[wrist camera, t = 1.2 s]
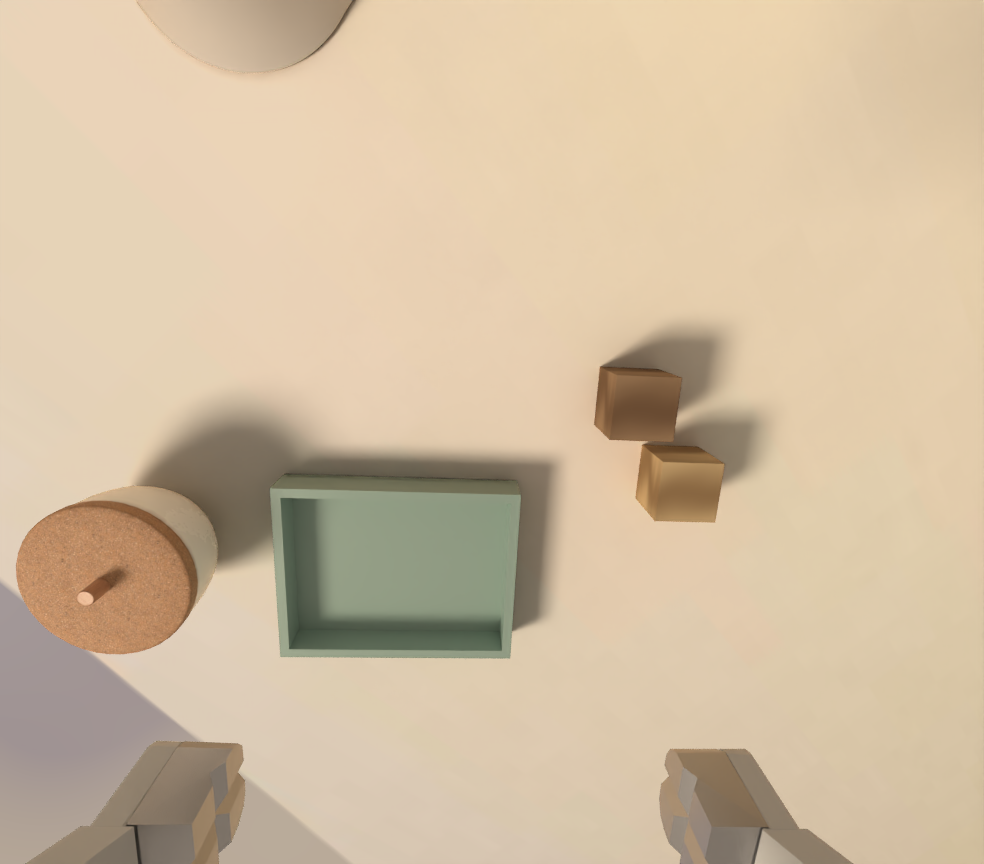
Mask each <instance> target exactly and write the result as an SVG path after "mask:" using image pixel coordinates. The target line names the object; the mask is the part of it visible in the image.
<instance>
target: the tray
mask: <svg viewBox="0 0 984 864" xmlns="http://www.w3.org/2000/svg"><path fill="white" fill-rule="evenodd" d="M270 501H271V517H272V533H273V548H274V564H275V580H276V595H277V611H278V627H279V642H280V657H362V658H510V653H511V638H512V623H513V608H514V593H515V578H516V563H517V548H518V533H519V518H520V503H521V493H520V490H519V486H518V483H517V480H482V479H446V478H411V477H375V476H340V475H305V474H284V475H283V476H282V477H281V478H280V479H279V480H278V481H277V482H276V483H275V484H274V485H273V486H272V487H271V488H270Z"/></svg>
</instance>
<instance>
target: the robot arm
mask: <svg viewBox="0 0 984 864" xmlns="http://www.w3.org/2000/svg"><path fill="white" fill-rule="evenodd" d="M136 1H137V3H138V4H139V6H140V7H141V9H142V10H143V11H144V13H145V14H146V15H147V17H148V18H149V19H150V20H151V22H152V23H153V24H154V25H155V26H156V27H157V28H158V29H159V31H160V32H161V33H162V34H164V35H165V36H166V37H167V38H168V39H169V40H170V41H171V42H172V43H174V44H175V45H176V46H177V47H179V48H180V49H182V50H183V51H184V52H186V53H188V54H189V55H191V56H192V57H194V58H196V59H198V60H200V61H202V62H204V63H206V64H209V65H211V66H214V67H217V68H220V69H224V70H227V71H233V72H239V73H265V72H271V71H276V70H279V69H283V68H286V67H288V66H291V65H293V64H295V63H297V62H299V61H301V60H303V59H304V58H306V57H307V56H309V55H310V54H311V53H313V52H314V51H315V50H317V49H318V48H319V47H320V46H321V45H322V44H323V43H324V42H325V41H326V40H327V39H328V37H329V36H330V35H331V34H332V32H333V31H334V30H335V28H336V27H337V25H338V24H339V22H340V20H341V19H342V17H343V15H344V13H345V12H346V10H347V8H348V7H349V5H350V3H351V2H352V1H353V0H136ZM243 761H244V758H243V749H242V745H240V744H238V743H214V742H188V741H185V742H174V741H173V742H172V741H156V742H154V743H153V744H151V745H150V746H149V747H148V748H147V749H146V750H145V751H144V753H143V754H142V756H141V757H140V758H139V760H138V761H137V762H136V764H135V765H134V766H133V768H132V769H131V771H130V772H129V773H128V775H127V776H126V777H125V779H124V780H123V782H122V783H121V784H120V786H119V787H118V788H117V790H116V791H115V793H114V794H113V795H112V797H111V798H110V799H109V801H108V802H107V803H106V805H105V806H104V808H103V809H102V810H101V812H100V813H99V814H98V816H97V817H96V819H95V820H94V821H93V823H92V824H91V826H80V827H79V828H78V829H76V830H75V831H73V832H72V833H70V834H69V835H67V836H66V837H64V838H63V839H61V840H60V841H58V842H57V843H55V844H54V845H52V846H51V847H49V848H48V849H46V850H45V851H44V852H42V853H41V854H39V855H38V856H36V857H35V858H33V859H32V860H30V861H29V862H27V863H26V864H219V855H218V853H219V852H221V851H222V850H223V849H224V848H225V847H226V846H227V845H229V844H230V843H231V842H232V839H233V837H234V835H235V832H236V830H237V827H238V825H239V821H240V817H241V814H242V810H243V807H244V799H245V780H244V779H243V777H242V776H241V775H240V774H239V773H238V771H239V769H240V767H241V765H242V763H243ZM665 767H666V770H667V772H668V775H669V777H668V778H667V779H666V780H665V781H664V782H663V783H662V784H661V789H660V797H659V801H660V814H661V819H662V823H663V827H664V831H665V833H666V836H667V839H668V842H669V843H670V844H671V845H672V846H673V847H674V848H675V849H676V850H677V851H678V852H679V853H680V854H681V859H680V864H853V863H852V862H850V861H849V860H848V859H846V858H845V857H844V856H842V855H841V854H840V853H838V852H837V851H836V850H834V849H833V848H832V847H830V846H829V845H828V844H827V843H825V842H824V841H823V840H821V839H820V838H819V837H817V836H816V835H815V834H813V833H812V832H811V831H809V830H808V829H799V827H798V826H797V824H796V822H795V821H794V819H793V818H792V816H791V815H790V813H789V812H788V810H787V809H786V807H785V805H784V804H783V802H782V801H781V799H780V798H779V796H778V795H777V793H776V792H775V790H774V788H773V787H772V785H771V784H770V782H769V781H768V779H767V778H766V776H765V775H764V773H763V771H762V770H761V768H760V767H759V765H758V764H757V762H756V761H755V759H754V758H753V756H752V755H751V753H750V752H748V751H747V750H746V749H720V750H718V749H670V750H669V751H668V753H667V755H666V760H665Z"/></svg>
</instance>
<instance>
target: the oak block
mask: <svg viewBox="0 0 984 864" xmlns="http://www.w3.org/2000/svg"><path fill="white" fill-rule="evenodd" d="M724 466H725V464H724V463H722V462H721V461H719V460H718V459H716V458H715V457H713V456H712V455H710V454H708V453H707V452H705V451H704V450H702V449H701V448H699V447H691V446H661V445H642V451H641V459H640V467H639V475H638V482H637V490H636V499H637V501H638V502H639V503H640V504H641V505H642V506H643V508H644V509H645V510H646V511H647V512H648V513H649V515H650V516H651V517H652V518H653V519H654V521H676V522H715V519H716V513H717V508H718V502H719V496H720V490H721V484H722V478H723V472H724Z"/></svg>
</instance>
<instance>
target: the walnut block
mask: <svg viewBox="0 0 984 864" xmlns="http://www.w3.org/2000/svg"><path fill="white" fill-rule="evenodd" d="M681 382H682V378H681V377H678V376H676V375H673V374H670V373H667V372H665V371H662V370H659V369H641V368H617V367H600V372H599V382H598V392H597V402H596V412H595V422H594V425H595V426H596V427H597V428H598V429H599V430H600V431H601V432H602V433H603V434H604V435H605V436H606V437H607V438H608V439H609V440H630V441H661V442H673V440H674V432H675V425H676V418H677V411H678V404H679V397H680V390H681Z"/></svg>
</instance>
